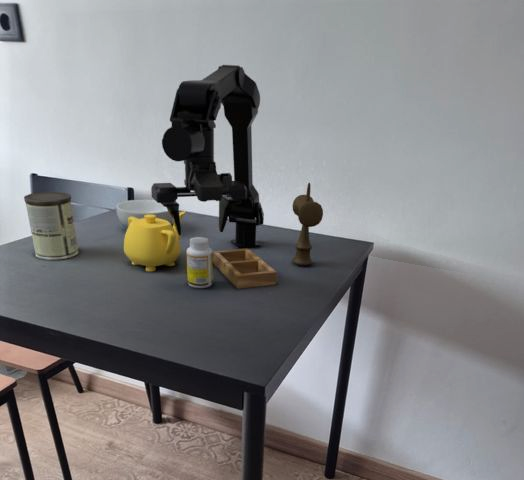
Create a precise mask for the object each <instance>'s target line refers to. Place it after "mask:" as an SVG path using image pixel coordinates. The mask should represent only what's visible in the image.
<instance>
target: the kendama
mask: <svg viewBox="0 0 524 480" xmlns="http://www.w3.org/2000/svg"><path fill="white" fill-rule="evenodd" d="M306 186H307V187H306V194H300V195H297V196H296V197H295V198H294V200H293V202H292V212H293V214H294V215H295V216H297V218H298V221H299V223H300V224H301V229H300V234H299V237H298V241H297V242H296V243H295V244H294V247H295V249H296V250H295V255H294V257H293V258H292V263H293V264H294V265H296V266H299V267H300V266H301V267H305V266H306V267H307V266H311V265H312V264H313V260H312V258H311V250H312V249H313V245H312V244H311V240H310V228H313V227H316V226H318V225H319V224H320V223H321V222H322V220H323V217H324V209H323V206H322V205H321V204H320V203H319V202H317V201H315V200H314V198H313V197H312V196H311V183H310V182H308V183H307V185H306Z"/></svg>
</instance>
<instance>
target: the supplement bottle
mask: <svg viewBox="0 0 524 480" xmlns="http://www.w3.org/2000/svg"><path fill="white" fill-rule="evenodd" d="M209 246H210V245H209V239H208V238H206V237H202V236H196V237H191V238H190V239H189V246H188V247H187V248H186V274H187V284H188V286H190V287H191V288H194V289H206V288H209V287H211V286H212V284H213V281H214V280H213V249H212V248H211V247H209Z"/></svg>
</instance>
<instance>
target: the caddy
mask: <svg viewBox="0 0 524 480" xmlns="http://www.w3.org/2000/svg"><path fill="white" fill-rule="evenodd" d="M212 265H214V266H215V267H216V268H217V269H218V270H219V271H220V272H221V273H222V274H223V275H224V276H225V277H226V279H227V280H228V281H229V282H230V283H231V284H232V285H234V287H236V289H237V290H240V289H247V288H256V287H257V288H258V287H265V286H273V285H274V286H275V285H277V276H278V272H277V270H275V269H274V268H273V267H272V266H271V265H269V264H268V263H267V262H266V261H264V260H263V259H262V258H260V257H259V256H258V255H257V254H255V252H253V251H252V250H251V249H249V248H237V249H225V250H215V251H213V250H212Z"/></svg>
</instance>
